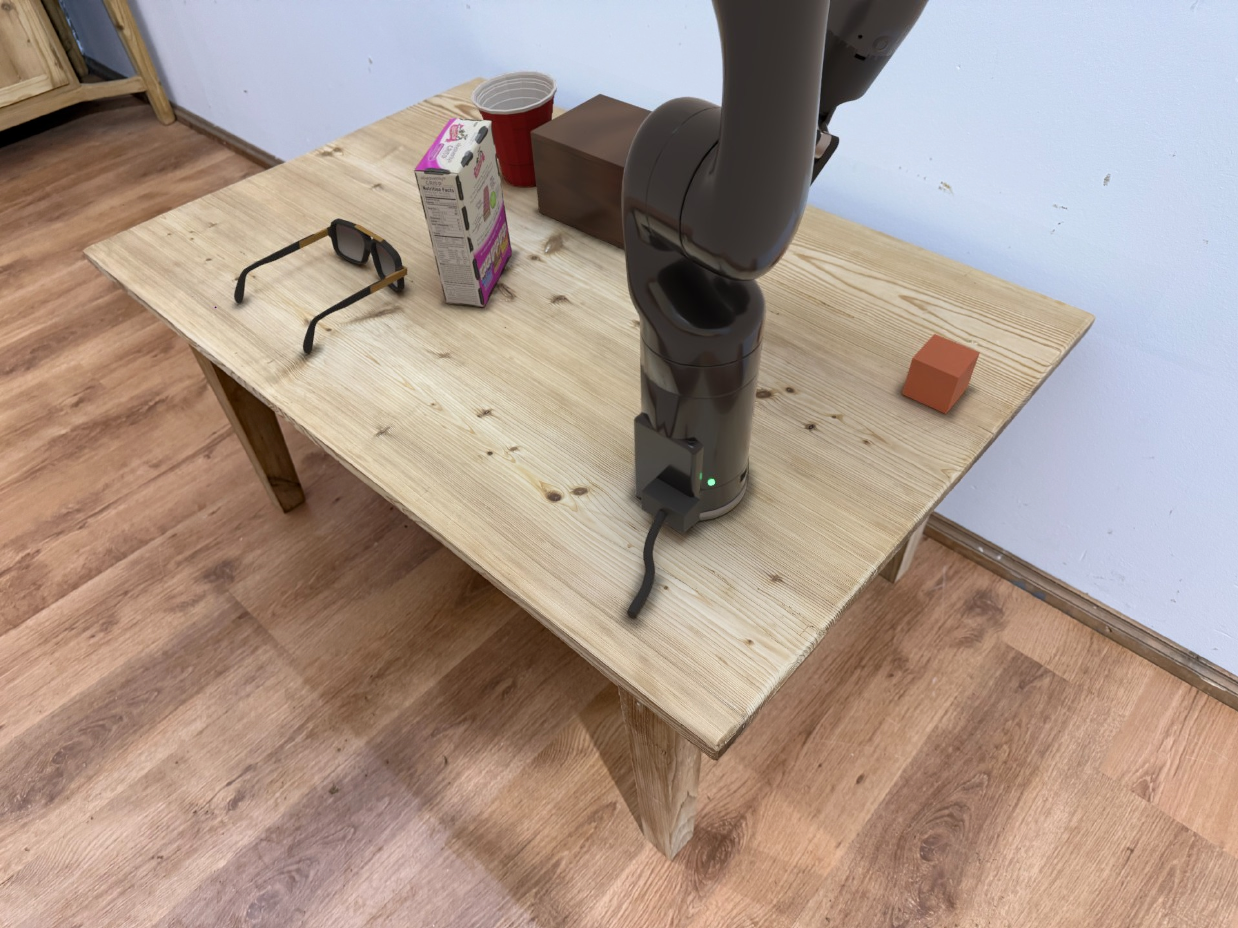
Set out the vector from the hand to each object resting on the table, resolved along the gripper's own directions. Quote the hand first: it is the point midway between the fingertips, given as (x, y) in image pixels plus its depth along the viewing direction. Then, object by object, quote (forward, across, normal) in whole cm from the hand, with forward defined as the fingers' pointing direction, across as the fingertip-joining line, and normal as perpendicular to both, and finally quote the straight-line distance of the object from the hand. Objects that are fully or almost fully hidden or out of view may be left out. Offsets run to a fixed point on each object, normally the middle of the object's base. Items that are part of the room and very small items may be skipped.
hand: (752, 179), depth 77 cm
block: (+7, +13, +23) cm, 27 cm away
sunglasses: (+36, -4, -34) cm, 50 cm away
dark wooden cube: (+26, -21, -3) cm, 34 cm away
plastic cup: (+32, -30, -13) cm, 46 cm away
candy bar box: (+30, -7, -19) cm, 36 cm away
